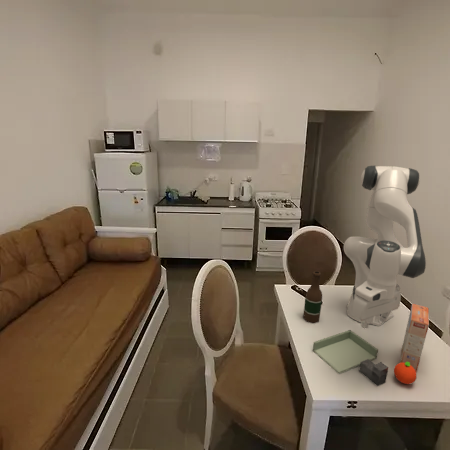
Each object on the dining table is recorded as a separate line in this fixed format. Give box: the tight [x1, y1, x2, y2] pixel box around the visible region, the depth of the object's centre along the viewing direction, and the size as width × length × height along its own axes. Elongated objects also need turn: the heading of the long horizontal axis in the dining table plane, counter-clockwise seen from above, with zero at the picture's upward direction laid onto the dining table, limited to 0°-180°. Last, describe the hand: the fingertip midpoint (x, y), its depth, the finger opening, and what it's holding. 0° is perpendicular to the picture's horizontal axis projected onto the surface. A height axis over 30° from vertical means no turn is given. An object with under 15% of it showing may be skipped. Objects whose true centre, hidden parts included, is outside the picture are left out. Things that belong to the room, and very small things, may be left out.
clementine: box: [393, 362, 417, 385], centre depth 110 cm, size 8×7×7 cm
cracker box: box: [399, 303, 430, 374], centre depth 119 cm, size 14×6×21 cm, turn 148°
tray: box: [312, 329, 379, 375], centre depth 123 cm, size 20×14×4 cm
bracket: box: [358, 359, 389, 387], centre depth 112 cm, size 8×4×6 cm, turn 26°
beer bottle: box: [303, 270, 323, 324], centre depth 144 cm, size 8×8×24 cm
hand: (373, 324), depth 109 cm, fingers open, 8 cm apart
